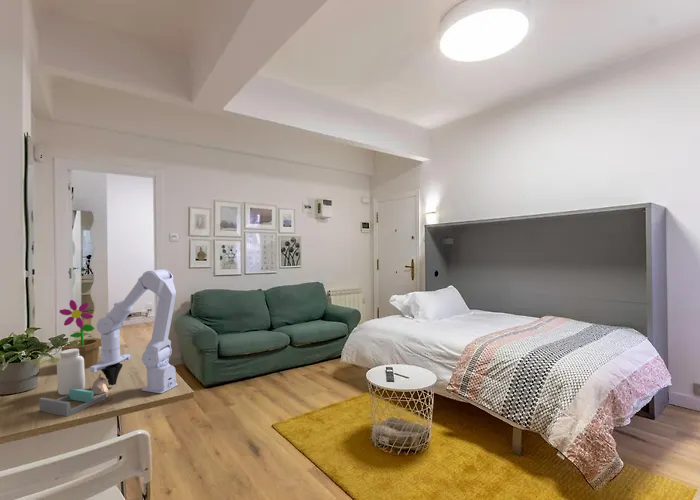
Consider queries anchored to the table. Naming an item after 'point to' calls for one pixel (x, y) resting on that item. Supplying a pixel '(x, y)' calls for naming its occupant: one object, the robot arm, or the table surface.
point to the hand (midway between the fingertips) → (112, 384)
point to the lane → (64, 405)
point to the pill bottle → (70, 371)
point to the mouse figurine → (99, 385)
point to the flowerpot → (86, 346)
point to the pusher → (81, 395)
